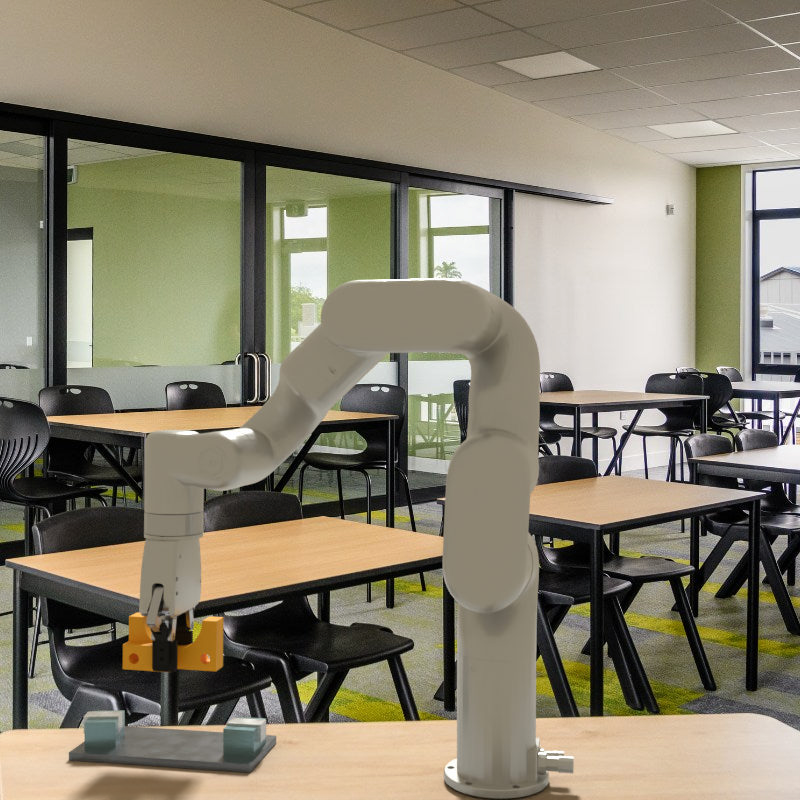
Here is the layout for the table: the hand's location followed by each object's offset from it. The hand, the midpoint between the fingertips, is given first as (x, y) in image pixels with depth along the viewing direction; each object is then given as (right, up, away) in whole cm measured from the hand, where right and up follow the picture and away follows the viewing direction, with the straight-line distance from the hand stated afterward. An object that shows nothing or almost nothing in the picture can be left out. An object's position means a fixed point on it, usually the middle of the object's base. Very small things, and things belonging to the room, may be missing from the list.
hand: (172, 664), depth 140 cm
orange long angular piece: (0, -1, 0) cm, 1 cm away
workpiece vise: (0, -11, 0) cm, 11 cm away
